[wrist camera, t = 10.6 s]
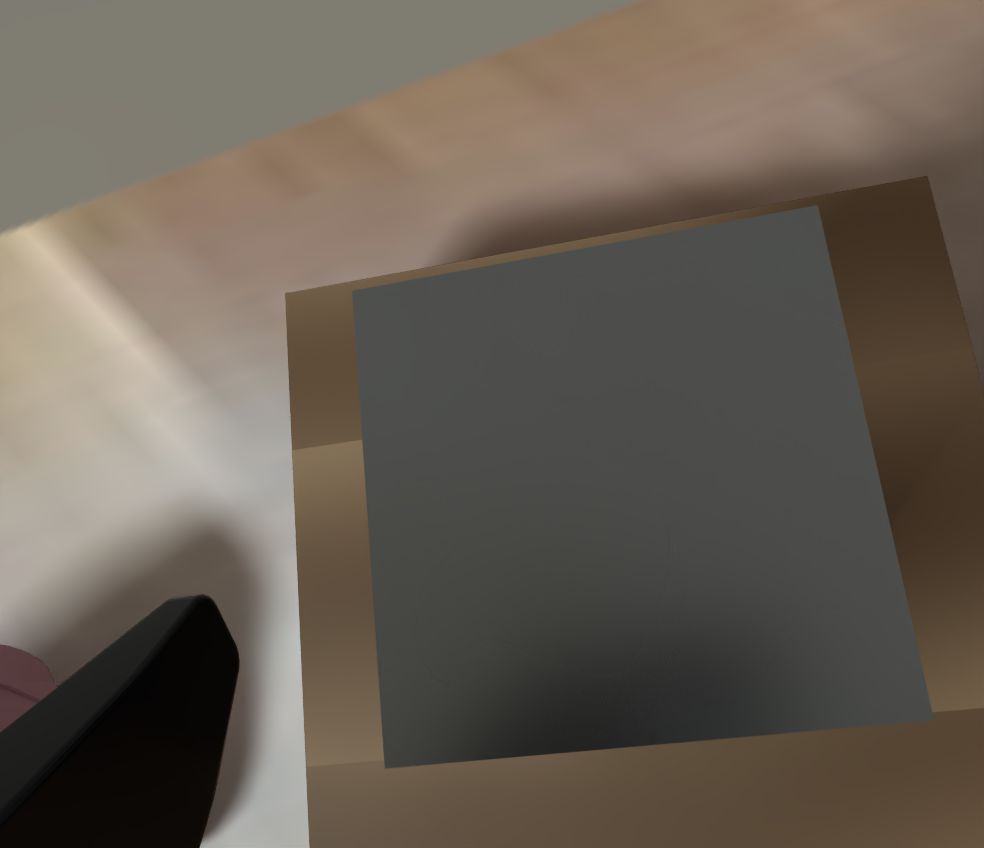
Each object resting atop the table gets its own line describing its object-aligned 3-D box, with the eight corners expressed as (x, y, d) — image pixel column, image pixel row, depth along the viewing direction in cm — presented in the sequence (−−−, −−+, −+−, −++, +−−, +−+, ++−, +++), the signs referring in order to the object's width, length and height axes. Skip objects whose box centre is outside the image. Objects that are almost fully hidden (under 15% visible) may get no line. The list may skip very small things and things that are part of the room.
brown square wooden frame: (1015, 865, 16) (1127, 940, 12) (390, 902, 18) (315, 976, 14) (873, 268, 19) (927, 176, 15) (355, 355, 21) (285, 293, 17)
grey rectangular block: (756, 662, 17) (933, 720, 6) (562, 681, 18) (385, 768, 7) (722, 470, 18) (818, 205, 7) (539, 495, 19) (351, 291, 8)
